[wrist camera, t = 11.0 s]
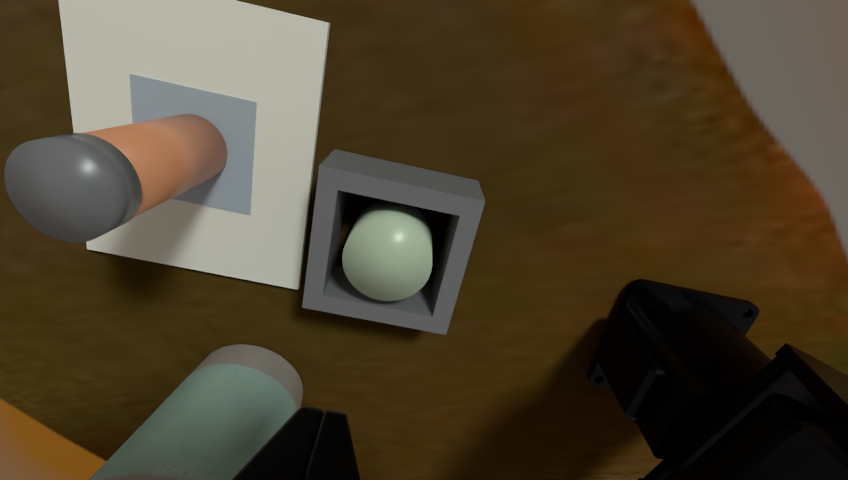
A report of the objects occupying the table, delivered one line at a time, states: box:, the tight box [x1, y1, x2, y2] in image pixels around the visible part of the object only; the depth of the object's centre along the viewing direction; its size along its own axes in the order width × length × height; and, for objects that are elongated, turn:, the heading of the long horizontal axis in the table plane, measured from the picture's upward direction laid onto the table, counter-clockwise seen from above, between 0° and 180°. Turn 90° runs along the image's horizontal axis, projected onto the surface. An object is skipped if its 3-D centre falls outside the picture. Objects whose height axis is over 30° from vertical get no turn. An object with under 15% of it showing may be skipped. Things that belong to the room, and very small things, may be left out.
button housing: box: [302, 149, 485, 335], centre depth 19 cm, size 6×6×3 cm
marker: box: [4, 114, 227, 243], centre depth 15 cm, size 3×3×7 cm
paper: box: [59, 0, 330, 290], centre depth 18 cm, size 10×12×1 cm
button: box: [342, 200, 432, 301], centre depth 18 cm, size 4×4×2 cm
